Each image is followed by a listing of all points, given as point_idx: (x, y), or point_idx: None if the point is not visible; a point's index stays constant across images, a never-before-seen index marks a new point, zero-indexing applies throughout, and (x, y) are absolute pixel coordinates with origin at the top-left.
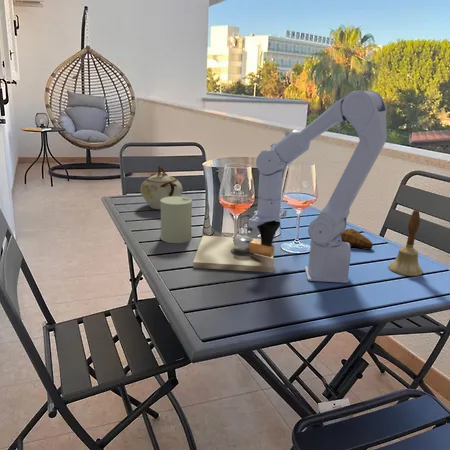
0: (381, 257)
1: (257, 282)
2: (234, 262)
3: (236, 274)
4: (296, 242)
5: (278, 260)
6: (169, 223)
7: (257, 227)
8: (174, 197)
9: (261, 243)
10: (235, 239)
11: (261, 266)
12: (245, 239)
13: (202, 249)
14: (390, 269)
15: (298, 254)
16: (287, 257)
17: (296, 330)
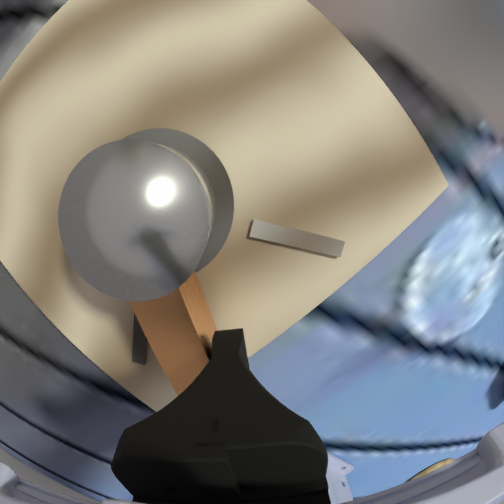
0: (471, 433)
1: (75, 397)
2: (42, 287)
3: (40, 321)
4: (498, 246)
5: (283, 344)
6: None
7: (150, 418)
8: None
9: (184, 367)
10: (70, 193)
11: (120, 384)
12: (131, 245)
13: (29, 62)
14: (412, 478)
15: (401, 343)
16: (344, 343)
17: (66, 485)
